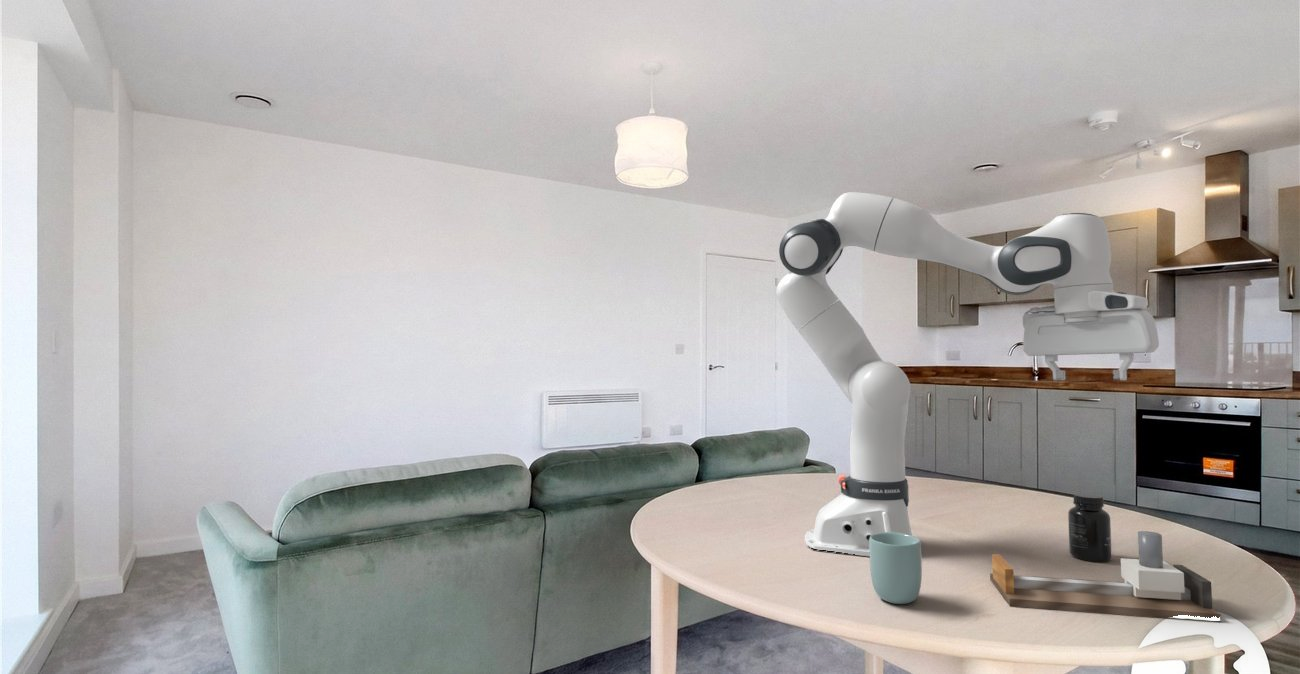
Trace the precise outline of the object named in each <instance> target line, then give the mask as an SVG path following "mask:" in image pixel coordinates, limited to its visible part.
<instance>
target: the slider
mask: <svg viewBox="0 0 1300 674" xmlns="http://www.w3.org/2000/svg"><path fill="white" fill-rule="evenodd" d="M1162 538H1163V534H1161V533H1159V532H1154V531H1148V530H1145V531H1143V530H1142V531H1140V530H1139V531H1137V542H1138V543H1137V544H1138V545H1137V547H1138V559H1136V558H1123V557H1122V558H1120V574H1121V575H1120V577H1122V579H1123V580H1124V582H1125V583H1131V584H1132V585H1133V591H1134V596H1136V597H1145V598H1159V599H1174V600H1181V593H1185V589H1184V573H1183V572H1181V571H1180V570H1178V569H1176V568H1175V567H1173V565H1171V564H1170V563H1167V562H1166V561H1165V560H1164V555H1163V539H1162Z"/></svg>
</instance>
